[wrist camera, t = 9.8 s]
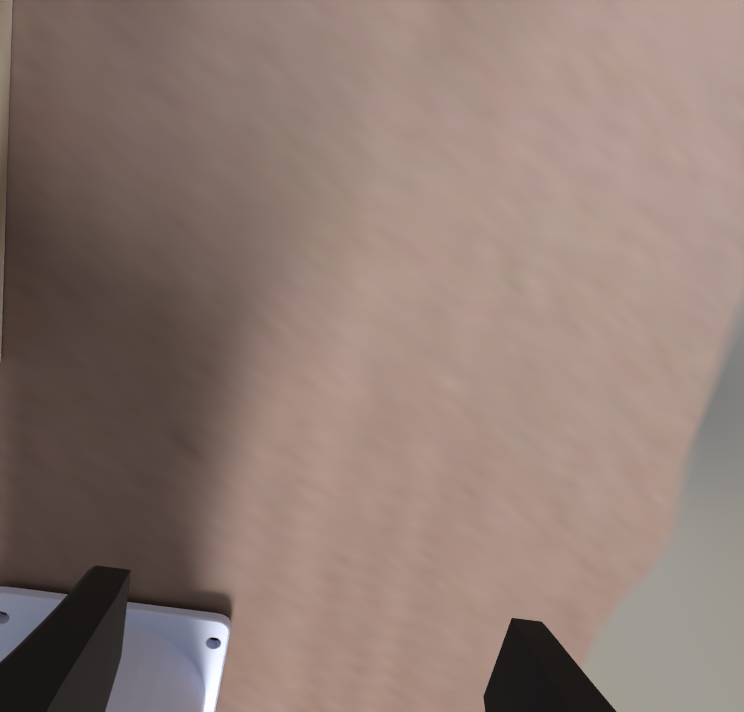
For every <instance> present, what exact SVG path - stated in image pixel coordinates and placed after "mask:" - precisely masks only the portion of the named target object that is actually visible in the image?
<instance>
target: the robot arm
mask: <svg viewBox="0 0 744 712" xmlns="http://www.w3.org/2000/svg"><path fill="white" fill-rule="evenodd" d="M130 572H131V570H126V569H118V568H110V567H103V566H95V567H93V568H91V569H90V570H88V572H87V573H86V574H85V575H84V576H83V578H82V579H81V580H80V581H79V582H78V583H77V585H76V586H75V587H74V588H73V589H72V590H71V591H70V593H69V594H61V593H53V592H45V591H38V590H30V589H22V588H14V587H0V611H2V612H5V613H6V614H8V615H3V614H1V613H0V712H215V709H216V704H217V699H218V694H219V688H220V683H221V678H222V673H223V667H224V662H225V657H226V651H227V646H228V641H229V636H230V630H231V621H230V620H229V618H228V617H226V616H225V615H222V614H219V613H211V612H203V611H196V610H188V609H180V608H172V607H164V606H156V605H148V604H140V603H132V602H127V600H128V590H129V581H130ZM211 637H215V638H218V639H219V640H211V639H209V638H211ZM484 704H485V712H616V711H615V709H614V708H613V707H612V706H611V705H610V704H609V702H608V701H607V700H606V699H605V698H604V696H603V695H602V694H601V693H600V692H599V691H598V689H597V688H596V687H595V686H594V684H593V683H592V682H591V681H590V680H589V678H588V677H587V676H586V675H585V674H584V672H583V671H582V670H581V669H580V667H579V666H578V665H577V664H576V663H575V661H574V660H573V659H572V658H571V656H570V655H569V654H568V653H567V651H566V650H565V649H564V648H563V646H562V645H561V644H560V643H559V642H558V640H557V639H556V638H555V637H554V635H553V634H552V633H551V632H550V631H549V630H548V628H547V627H546V626H545V625H544V624H543V623H542V622H540V621H532V620H524V619H516V618H512V619H511V622H510V625H509V628H508V630H507V633H506V636H505V639H504V641H503V644H502V647H501V650H500V652H499V655H498V658H497V661H496V664H495V666H494V669H493V672H492V675H491V677H490V680H489V683H488V686H487V688H486V691H485V694H484Z"/></svg>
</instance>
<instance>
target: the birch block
mask: <svg viewBox="0 0 744 712" xmlns="http://www.w3.org/2000/svg"><path fill="white" fill-rule="evenodd" d="M12 6H13V0H0V363H1V346H2V315H3V284H4V253H5V222H6V191H7V160H8V130H9V99H10V68H11V37H12Z"/></svg>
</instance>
